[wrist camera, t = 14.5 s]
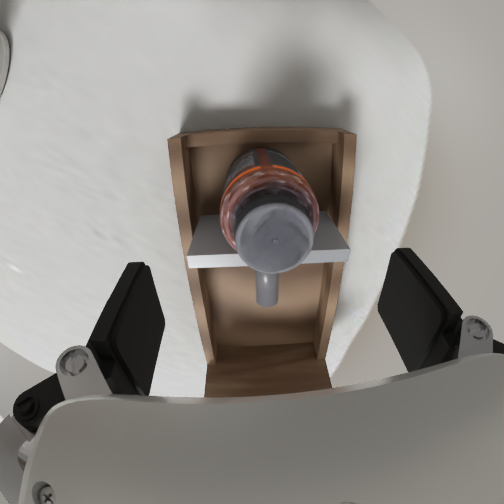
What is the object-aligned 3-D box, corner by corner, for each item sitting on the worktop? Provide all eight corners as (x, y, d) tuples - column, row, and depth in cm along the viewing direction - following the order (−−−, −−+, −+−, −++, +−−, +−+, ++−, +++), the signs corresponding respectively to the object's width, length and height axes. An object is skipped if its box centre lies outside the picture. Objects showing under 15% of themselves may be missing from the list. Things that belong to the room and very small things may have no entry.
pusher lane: (179, 133, 22) (145, 151, 15) (340, 128, 22) (386, 145, 15) (211, 345, 35) (205, 404, 28) (317, 340, 35) (331, 397, 28)
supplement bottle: (216, 198, 24) (197, 270, 15) (241, 135, 22) (237, 162, 12) (279, 220, 26) (300, 301, 16) (307, 161, 23) (353, 210, 13)
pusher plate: (200, 215, 25) (186, 256, 19) (325, 210, 25) (350, 249, 19) (209, 279, 28) (201, 329, 22) (319, 274, 28) (336, 322, 22)
